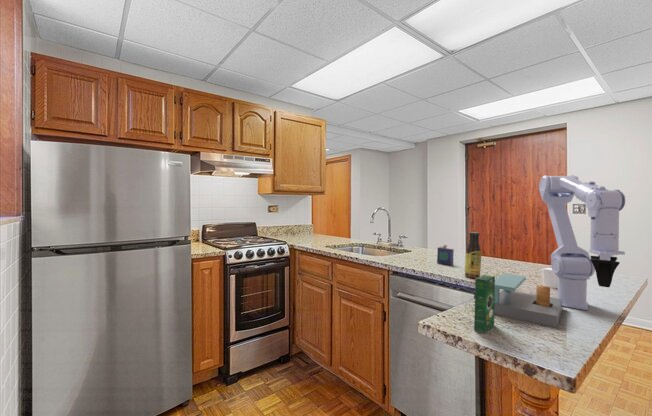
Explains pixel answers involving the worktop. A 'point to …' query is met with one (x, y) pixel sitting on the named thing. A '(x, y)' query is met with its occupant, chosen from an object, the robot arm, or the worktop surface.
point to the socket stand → (523, 302)
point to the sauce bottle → (473, 257)
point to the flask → (445, 256)
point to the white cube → (549, 278)
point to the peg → (543, 296)
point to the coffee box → (484, 303)
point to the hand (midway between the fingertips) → (603, 284)
